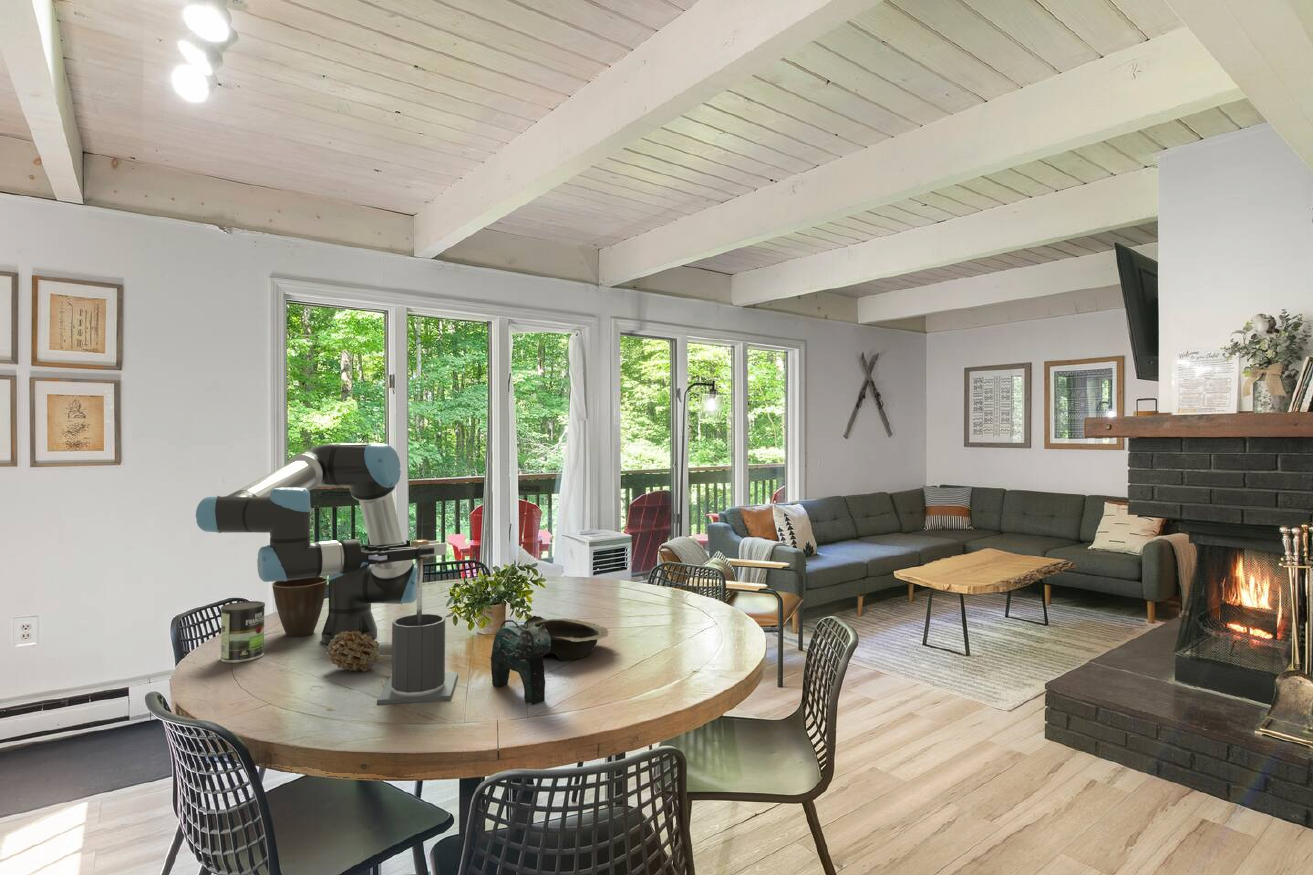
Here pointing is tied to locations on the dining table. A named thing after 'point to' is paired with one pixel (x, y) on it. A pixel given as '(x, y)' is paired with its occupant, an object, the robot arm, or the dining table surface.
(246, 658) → the coffee can
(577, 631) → the stone bowl
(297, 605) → the plant pot
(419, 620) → the plunger
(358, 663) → the pine cone
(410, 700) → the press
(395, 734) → the dining table surface
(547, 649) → the dark animal figurine
